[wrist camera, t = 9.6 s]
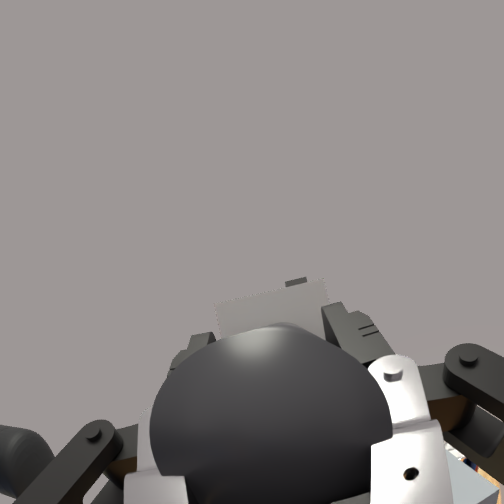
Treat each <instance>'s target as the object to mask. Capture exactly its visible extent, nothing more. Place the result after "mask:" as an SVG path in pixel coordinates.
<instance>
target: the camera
mask: <svg viewBox="0 0 504 504" xmlns="http://www.w3.org/2000/svg"><path fill="white" fill-rule="evenodd" d="M285 286H286V287H285V288H281V289H277V290H273V291H269V292H264V293H260V294H256V295H252V296H248V297H243V298H238V299H234V300H229V301H225V302H221V303H216V304H214V306H215V311H216V316H217V321H218V325H219V330H220V334H221V339H220V340H218V341H215V342H213V343H210V344H208V345H206V346H205V347H203V348H201V349H199V350H198V351H196V352H194V353H193V354H191V355H190V356H189V357H187V358H186V359H185V360H184V361H182V362H181V363H180V364H179V365H178V366H177V367H176V368H175V369H174V370H173V371H172V372H171V374H170V375H169V376H168V378H167V379H166V380H165V382H164V383H163V385H162V386H161V388H160V390H159V392H158V394H157V396H156V399H155V402H154V405H153V407H152V412H151V417H150V426H149V437H150V445H151V450H152V454H153V457H154V461H155V463H156V465H157V468H158V470H159V472H160V474H161V476H184V477H185V479H186V481H187V483H188V484H189V486H190V488H191V490H192V492H193V494H194V496H195V497H196V499H197V501H198V503H199V504H331V503H333V502H337V501H341V500H344V499H348V498H352V497H355V496H359V495H362V494H365V493H369V492H370V473H371V447H372V445H374V444H377V443H380V442H383V441H386V440H389V439H391V438H392V437H393V426H392V417H391V412H390V407H389V404H388V402H387V399H386V397H385V394H384V392H383V390H382V389H381V387H380V385H379V384H378V382H377V380H376V379H375V378H374V377H373V375H372V374H371V373H370V372H369V371H368V369H367V368H366V367H365V366H363V365H362V364H361V363H360V362H359V361H358V360H357V359H356V358H354V357H353V356H351V355H350V354H348V353H347V352H345V351H344V350H343V349H341V348H339V347H337V346H335V345H333V344H331V343H329V342H327V341H326V339H325V332H324V326H323V320H322V314H321V307H322V306H326V305H329V304H330V302H329V298H328V294H327V290H326V286H325V282H324V278H322V279H318V280H314V281H310V282H307V279H306V277H304V278H299V279H295V280H291V281H287V282H285Z"/></svg>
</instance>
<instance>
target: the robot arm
mask: <svg viewBox="0 0 504 504" xmlns="http://www.w3.org/2000/svg"><path fill="white" fill-rule="evenodd" d="M321 314H322V320H323V326H324V332H325V339H326V341H327V342H329V343H331V344H333V345H335V346H337V347H339V348H341V349H343V350H344V351H345V352H347V353H348V354H350V355H351V356H353V357H354V358H356V359H357V360H358V361H359V362H360V363H361V364H362V365H363V366H365V367H366V368H367V369H368V371H369V372H370V373H371V374H372V375H373V377H374V378H375V379H376V380H377V382H378V384H379V385H380V387H381V389H382V390H383V392H384V394H385V397H386V399H387V402H388V404H389V407H390V412H391V417H392V426H393V437H392V438H391V439H389V440H386V441H383V442H380V443H377V444H374V445H372V447H371V473H370V492H369V493H365V494H362V495H359V496H355V497H352V498H348V499H344V500H341V501H337V502H333V503H331V504H454V502H453V494H452V486H451V479H450V473H449V467H448V461H447V455H446V450H445V445H444V441H446V442H447V443H448V444H449V445H451V446H452V447H453V448H455V449H456V450H457V451H459V452H460V453H461V454H462V455H464V456H465V457H466V458H468V459H469V460H470V461H472V462H473V463H474V464H476V465H477V466H478V467H480V468H481V469H482V470H484V471H485V472H486V473H488V474H489V475H490V476H492V477H493V478H494V479H496V480H497V481H498V482H500V483H501V484H503V485H504V357H502V356H499V355H497V354H496V353H494V352H492V351H489V350H487V349H486V348H484V347H482V346H479V345H476V344H470V343H468V344H467V343H466V344H460V345H457V346H455V347H453V348H452V349H451V350H449V351H448V353H447V354H446V356H445V362H444V363H441V364H435V365H427V366H417V365H416V363H415V362H414V361H413V360H412V359H411V358H409V357H407V356H403V355H396V354H395V353H394V352H393V350H392V349H391V347H390V346H389V344H388V343H387V341H386V340H385V339H384V337H383V336H382V334H381V333H380V332H379V330H378V329H377V327H376V326H374V323H373V322H372V320H371V319H370V317H369V316H367V315H365V314H364V313H362V312H360V311H355V312H352V313H348V312H347V310H346V309H345V307H344V305H343V304H342V302H337V303H333V304H329V305H326V306H322V307H321ZM215 341H216V339H215V336H214V334H213V333H212V332H207V333H202V334H197V335H192V336H191V338H190V342H189V345H188V348H187V350H182V351H180V352H179V353H178V355H176V357H175V358H174V359H173V361H172V363H171V366H170V371H169V372H168V375H167V378H168V376H169V375H170V374H171V372H172V371H173V370H174V369H175V368H176V367H177V366H178V365H179V364H180V363H181V362H182V361H184V360H185V359H186V358H187V357H189V356H190V355H191V354H193V353H194V352H196V351H198V350H199V349H201V348H203V347H205V346H206V345H208V344H210V343H213V342H215ZM477 405H479V406H480V407H482V408H483V409H485V410H487V411H488V412H490V413H491V414H493V415H495V416H496V417H498V418H499V419H501V420H502V421H503V422H501V421H500V420H498V419H497V418H495V417H493V416H492V415H490V414H489V413H487V412H486V411H484V410H482V409H481V408H479V407H478V406H477ZM152 407H153V405H152V406H150V407H149V408H147V409H146V410H145V411H144V412H143V413H142V415H141V416H140V418H139V423H138V424H135V425H132V426H129V427H125V428H121V429H117V430H116V429H115V427H114V426H113V425H112V424H111V423H110V422H109V421H107V420H95V421H93V422H90V423H88V424H86V425H85V426H84V427H83V428H82V429H81V430H80V431H79V432H78V433H77V434H76V435H75V436H74V437H73V438H72V440H71V441H70V442H69V443H68V444H67V445H66V446H65V447H64V448H63V449H62V450H61V451H60V453H59V454H58V455H57V456H56V457H54V454H53V453H52V451H51V449H50V447H49V446H48V444H47V443H46V442H45V440H44V439H43V438H42V437H41V436H40V435H39V434H37V433H36V432H34V431H31V430H28V429H23V428H17V427H10V426H4V425H0V493H2V494H4V495H7V496H10V497H12V498H15V499H16V501H14V503H13V504H83V497H84V495H85V494H86V493H87V491H88V490H89V489H90V488H91V486H92V485H93V484H94V483H95V481H96V480H97V479H98V478H99V477H100V475H101V474H102V473H103V474H104V475H105V476H106V477H107V478H108V479H109V481H108V482H107V483H106V485H105V486H104V487H103V489H102V490H101V491H100V492H99V494H98V495H97V496H96V498H95V499H94V500H93V501H92V503H91V504H199V503H198V501H197V499H196V497H195V496H194V494H193V492H192V490H191V488H190V486H189V484H188V483H187V481H186V479H185V477H184V476H161V474H160V472H159V470H158V468H157V465H156V463H155V461H154V457H153V454H152V450H151V445H150V437H149V426H150V417H151V412H152Z"/></svg>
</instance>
